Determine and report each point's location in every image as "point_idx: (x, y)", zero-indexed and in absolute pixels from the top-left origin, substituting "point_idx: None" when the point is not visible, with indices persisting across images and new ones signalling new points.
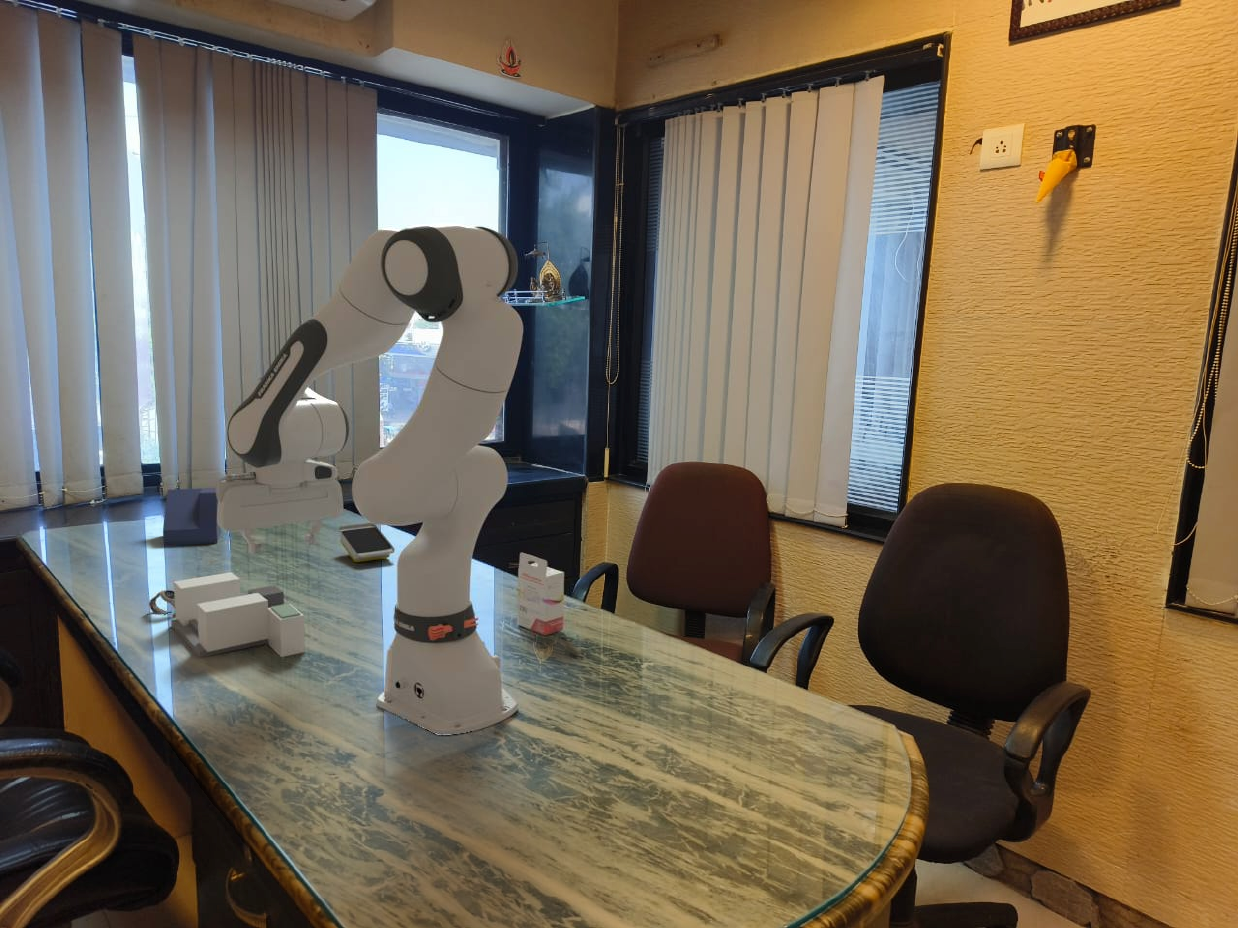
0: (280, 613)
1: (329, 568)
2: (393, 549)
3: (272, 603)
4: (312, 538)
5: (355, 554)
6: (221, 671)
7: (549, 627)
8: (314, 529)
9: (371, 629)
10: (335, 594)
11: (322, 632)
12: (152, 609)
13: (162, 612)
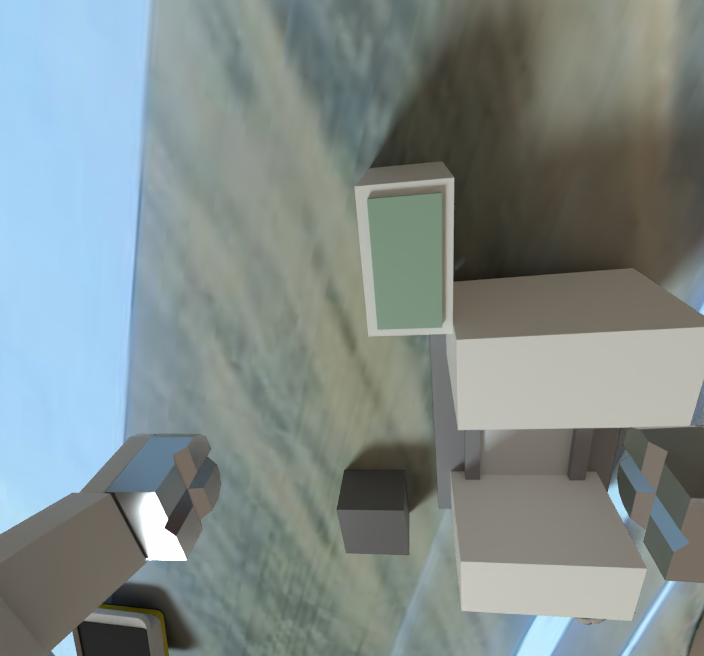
0: (435, 237)
1: (213, 608)
2: None
3: (368, 488)
4: (133, 470)
5: (151, 628)
6: (628, 151)
7: None
8: (58, 565)
9: (166, 250)
10: (221, 496)
11: (291, 297)
12: None
13: None
